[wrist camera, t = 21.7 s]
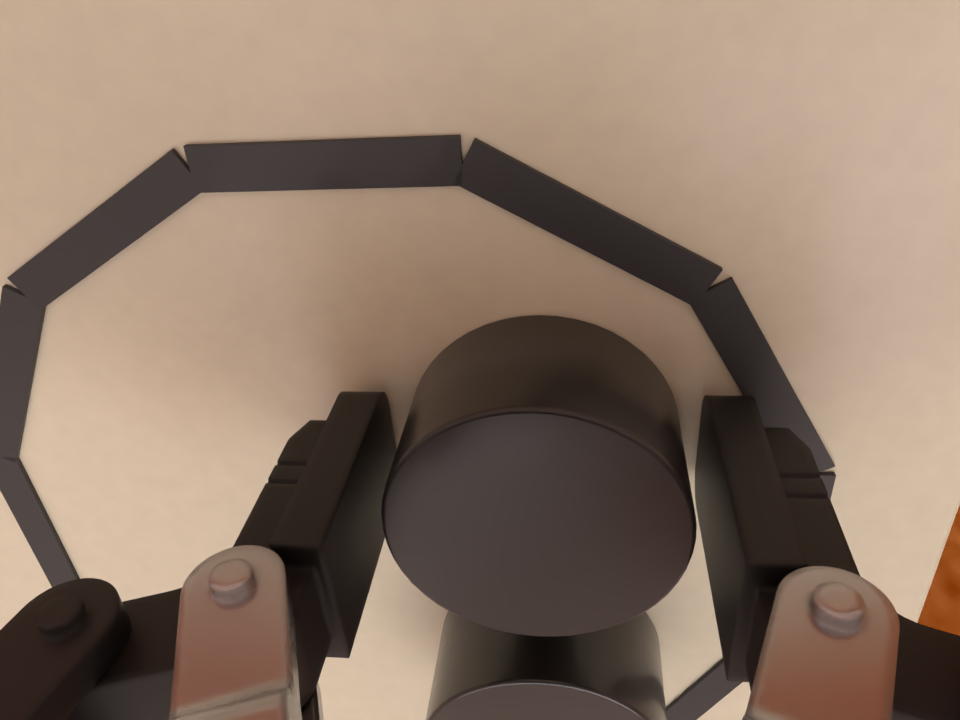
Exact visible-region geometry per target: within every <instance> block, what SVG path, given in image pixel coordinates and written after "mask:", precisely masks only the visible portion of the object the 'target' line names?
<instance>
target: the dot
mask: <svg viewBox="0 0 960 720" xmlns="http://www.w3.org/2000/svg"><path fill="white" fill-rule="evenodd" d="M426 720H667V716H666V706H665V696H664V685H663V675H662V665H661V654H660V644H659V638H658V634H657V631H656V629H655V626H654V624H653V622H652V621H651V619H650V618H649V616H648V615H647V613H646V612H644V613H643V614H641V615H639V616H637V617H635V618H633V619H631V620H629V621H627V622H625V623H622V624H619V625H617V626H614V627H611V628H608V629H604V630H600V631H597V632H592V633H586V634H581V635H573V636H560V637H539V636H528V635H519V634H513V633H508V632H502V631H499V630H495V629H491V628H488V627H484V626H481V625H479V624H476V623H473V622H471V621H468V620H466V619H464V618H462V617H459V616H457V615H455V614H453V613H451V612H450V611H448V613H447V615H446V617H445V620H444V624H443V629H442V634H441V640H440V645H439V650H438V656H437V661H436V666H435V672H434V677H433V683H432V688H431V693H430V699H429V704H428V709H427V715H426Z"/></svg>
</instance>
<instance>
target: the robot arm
mask: <svg viewBox="0 0 960 720" xmlns="http://www.w3.org/2000/svg"><path fill="white" fill-rule="evenodd" d="M396 451H397V449H396V443H395V437H394V430H393V424H392V418H391V412H390V406H389V400H388V397H387V395H386V393H385V392H357V391H342V392H340V393H339V395H338V396H337V399H336V401H335V403H334V405H333V407H332V409H331V411H330V414H329V416H328V418H327V420H310V421H309V422H307V423H306V424H305V425H304V426H303V427H302V428H301V429H299V430H298V431H297V432H296V433H295V434H294V435H293V436H291V437H290V438H289V439H288V441H287V443H286V445H285V447H284V449H283V451H282V453H281V455H280V456H279V458H278V460H277V465H275V466H274V468H273V470H272V472H271V474H270V476H269V478H268V483H266V484H265V486H264V488H263V489H262V491H261V493H260V495H259V497H258V499H257V501H256V503H255V505H254V507H253V509H252V511H251V513H250V515H249V517H248V519H247V520H246V522H245V524H244V526H243V528H242V530H241V532H240V534H239V536H238V538H237V540H236V542H235V544H234V546H233V547H232V548H228V549H225V550H222V551H220V552H218V553H216V554H214V555H212V556H210V557H208V558H207V559H205V560H204V561H203V562H201V563H200V564H199V565H198V566H197V567H196V568H194V570H193V571H192V572H191V573H190V574H189V576H188V577H187V579H186V580H185V582H184V584H183V587H182V588H179V589H176V590H172V591H168V592H164V593H159V594H155V595H150V596H146V597H141V598H137V599H132V600H128V601H123V602H122V601H121V598H120V596H119V594H118V592H117V590H116V589H115V587H114V586H113V585H112V584H110V583H109V582H107V581H104V580H102V579H96V578H82V579H75V580H71V581H67V582H64V583H62V584H59V585H56V586H54V587H52V588H50V589H48V590H46V591H45V592H43V593H41V594H39V595H38V596H37V597H35V598H34V599H33V600H31V601H30V602H29V603H28V604H27V605H25V606H24V607H23V608H22V609H21V610H20V611H19V612H18V613H17V614H16V615H15V616H14V617H13V618H12V619H11V620H10V621H9V622H8V623H7V624H6V625H5V626H4V627H3V628H2V629H1V630H0V720H324V718H323V708H322V698H321V691H320V687H319V683H318V680H319V677H320V674H321V671H322V668H323V665H324V662H325V659H326V657H335V658H349V657H350V654H351V651H352V647H353V644H354V640H355V637H356V634H357V630H358V627H359V624H360V620H361V617H362V613H363V610H364V607H365V603H366V600H367V597H368V593H369V590H370V586H371V583H372V580H373V576H374V573H375V569H376V566H377V563H378V559H379V556H380V553H381V549H382V546H383V542H384V539H385V535H384V531H383V527H382V517H381V507H382V497H383V493H384V489H385V485H386V482H387V479H388V476H389V473H390V470H391V466H392V463H393V460H394V457H395V454H396ZM695 501H696V509H697V514H698V520H699V526H700V531H701V537H702V543H703V548H704V554H705V560H706V565H707V571H708V577H709V582H710V588H711V593H712V599H713V605H714V610H715V616H716V622H717V627H718V633H719V639H720V644H721V650H722V656H723V661H724V667H725V672H726V678H727V681H737V682H749V685H750V690H751V694H750V698H749V701H748V705H747V709H746V713H745V715H744V716H743V718H742V720H960V636H958V635H954V634H951V633H947V632H944V631H940V630H937V629H934V628H930V627H927V626H924V625H921V624H918V623H916V622H914V621H912V620H909V619H907V618H905V617H903V616H902V615H900V614H898V613H897V612H896V610H895V608H894V606H893V604H892V603H891V601H890V600H889V599H888V597H887V596H886V595H885V594H884V593H883V592H882V591H881V590H880V589H879V588H877V587H876V586H875V585H874V584H872V583H871V582H869V581H867V580H866V579H864V578H863V577H861V576H860V574H859V572H858V569H857V566H856V564H855V561H854V559H853V556H852V554H851V551H850V549H849V546H848V543H847V541H846V538H845V536H844V533H843V531H842V528H841V526H840V523H839V520H838V518H837V515H836V513H835V510H834V508H833V505H832V503H831V500H830V499H828V492H827V490H826V487H825V485H824V482H823V480H822V478H820V472H819V469H818V467H817V464H816V462H815V459H814V457H813V454H812V452H811V449H810V448H809V447H808V446H807V445H806V444H805V443H804V442H803V441H802V440H801V439H800V438H798V437H797V436H796V435H795V434H794V433H793V432H792V431H791V430H790V429H789V428H774V427H764V426H763V423H762V420H761V417H760V413H759V410H758V407H757V404H756V401H755V399H754V397H753V396H721V395H705V396H704V398H703V402H702V409H701V418H700V428H699V437H698V447H697V456H696V465H695Z"/></svg>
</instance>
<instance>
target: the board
mask: <svg viewBox="0 0 960 720" xmlns="http://www.w3.org/2000/svg"><path fill="white" fill-rule="evenodd" d="M533 315H546V316H560V317H566V318H572V319H578V320H581V321H584V322H588V323H591V324H595V325H597V326H600V327H602V328H604V329H607V330H609V331H611V332H613V333H615V334H617V335H618V336H620V337H622V338H624V339H625V340H627V341H629V342H630V343H631V344H632V345H634V346H635V347H636V348H638V349H639V350H640V351H642V352H643V353H644V354H645V355H646V356H647V357H648V358H649V359H650V360H651V361H652V362H653V363H654V364H655V365H656V367H657V368H658V369H659V371H660V372H661V373H662V375H663V376H664V378H665V379H666V381H667V383H668V385H669V387H670V389H671V391H672V393H673V396H674V399H675V402H676V405H677V411H678V416H679V422H680V428H681V434H682V440H683V445H684V451H685V457H686V463H687V469H688V475H689V480H690V486H691V492H692V498H693V504H694V510H695V516H696V522H697V529H696V542H695V547H694V551H693V554H692V557H691V559H690V562H689V564H688V567H687V569H686V571H685V572H684V574H683V576H682V577H681V579H680V580H679V582H678V583H677V584H676V586H675V587H674V588H673V589H672V590H671V591H670V593H669V594H668V595H667V596H665V597H664V598H663V599H662V600H661V601H660V602H659V603H657V604H656V605H655V606H653V607H652V608H650V609H649V610H647V611H646V613H647V615H648V616H649V618H650V619H651V621H652V622H653V624H654V626H655V629H656V631H657V634H658V638H659V644H660V654H661V665H662V675H663V685H664V696H665V706H666V716H667V720H742V718H743V716H744V715H745V713H746V709H747V705H748V701H749V698H750V694H751V690H750V685H749V682H737V681H727V678H726V672H725V667H724V661H723V656H722V650H721V644H720V639H719V633H718V627H717V622H716V616H715V610H714V605H713V599H712V593H711V588H710V582H709V577H708V571H707V565H706V560H705V554H704V548H703V543H702V537H701V531H700V526H699V520H698V514H697V509H696V501H695V465H696V456H697V447H698V437H699V428H700V418H701V409H702V402H703V398H704V396H705V395H721V396H753V397H754V399H755V401H756V404H757V407H758V410H759V413H760V417H761V420H762V423H763V426H764V427H774V428H789V429H790V430H791V431H792V432H793V433H794V434H795V435H796V436H797V437H798V438H800V439H801V440H802V441H803V442H804V443H805V444H806V445H807V446H808V447H809V448H810V449H811V452H812V454H813V457H814V459H815V462H816V464H817V467H818V469H819V472H820V478H822V480H823V482H824V485H825V487H826V490H827V492H828V499H830V500H831V503H832V505H833V508H834V510H835V513H836V515H837V518H838V520H839V523H840V526H841V528H842V531H843V533H844V536H845V538H846V541H847V543H848V546H849V549H850V551H851V554H852V556H853V559H854V561H855V564H856V566H857V569H858V572H859V574H860V576H861V577H863V578H864V579H866V580H867V581H869V582H871V583H872V584H874V585H875V586H876V587H877V588H879V589H880V590H881V591H882V592H883V593H884V594H885V595H886V596H887V597H888V599H889V600H890V601H891V603H892V604H893V606H894V608H895V610H896V612H897V613H898V614H900V615H902V616H903V617H905V618H907V619H909V620H912V621H914V622H916V623H917V622H918V619H919V616H920V614H921V611H922V608H923V605H924V602H925V600H926V597H927V594H928V591H929V588H930V586H931V583H932V580H933V577H934V575H935V572H936V569H937V566H938V563H939V561H940V558H941V555H942V552H943V549H944V547H945V544H946V541H947V538H948V535H949V533H950V530H951V527H952V524H953V521H954V519H955V516H956V513H957V510H958V507H959V505H960V0H0V630H1V629H2V628H3V627H4V626H5V625H6V624H7V623H8V622H9V621H10V620H11V619H12V618H13V617H14V616H15V615H16V614H17V613H18V612H19V611H20V610H21V609H22V608H23V607H24V606H25V605H27V604H28V603H29V602H30V601H31V600H33V599H34V598H35V597H37V596H38V595H39V594H41V593H43V592H45V591H46V590H48V589H50V588H52V587H54V586H56V585H59V584H62V583H64V582H67V581H71V580H75V579H82V578H96V579H102V580H104V581H107V582H109V583H110V584H112V585H113V586H114V587H115V589H116V590H117V592H118V594H119V596H120V598H121V601H122V602H123V601H128V600H132V599H137V598H141V597H146V596H150V595H155V594H159V593H164V592H168V591H172V590H176V589H179V588H182V587H183V584H184V582H185V580H186V579H187V577H188V576H189V574H190V573H191V572H192V571H193V570H194V568H196V567H197V566H198V565H199V564H200V563H201V562H203V561H204V560H205V559H207V558H208V557H210V556H212V555H214V554H216V553H218V552H220V551H222V550H225V549H228V548H232V547H233V546H234V544H235V542H236V540H237V538H238V536H239V534H240V532H241V530H242V528H243V526H244V524H245V522H246V520H247V519H248V517H249V515H250V513H251V511H252V509H253V507H254V505H255V503H256V501H257V499H258V497H259V495H260V493H261V491H262V489H263V488H264V486H265V484H266V483H268V478H269V476H270V474H271V472H272V470H273V468H274V466H275V465H277V460H278V458H279V456H280V455H281V453H282V451H283V449H284V447H285V445H286V443H287V441H288V439H289V438H290V437H291V436H293V435H294V434H295V433H296V432H297V431H298V430H299V429H301V428H302V427H303V426H304V425H305V424H306V423H307V422H309V421H310V420H327V418H328V416H329V414H330V411H331V409H332V407H333V405H334V403H335V401H336V399H337V396H338V395H339V393H340V392H342V391H357V392H385V393H386V395H387V397H388V400H389V406H390V412H391V418H392V424H393V430H394V437H395V443H396V449H397V448H398V445H399V442H400V438H401V435H402V432H403V429H404V426H405V423H406V420H407V417H408V414H409V411H410V407H411V404H412V401H413V398H414V395H415V392H416V389H417V387H418V384H419V382H420V380H421V378H422V376H423V374H424V373H425V371H426V370H427V368H428V367H429V365H430V364H431V362H432V361H433V360H434V359H435V358H436V357H437V356H438V355H439V354H440V352H441V351H443V350H444V349H445V348H446V347H447V346H449V345H450V344H451V343H452V342H454V341H455V340H457V339H458V338H460V337H462V336H463V335H465V334H467V333H468V332H470V331H472V330H475V329H477V328H479V327H481V326H484V325H486V324H489V323H493V322H496V321H499V320H503V319H508V318H514V317H519V316H533ZM447 613H448V610H446V609H444V608H443V607H441V606H439V605H438V604H436V603H435V602H434V601H432V600H431V599H430V598H428V597H427V596H426V595H424V594H423V593H422V592H421V591H420V590H419V589H418V588H417V587H416V586H414V585H413V584H412V583H411V581H410V580H409V579H408V578H407V577H406V576H405V574H404V573H403V572H402V571H401V569H400V568H399V566H398V564H397V563H396V561H395V560H394V558H393V556H392V554H391V552H390V550H389V547H388V545H387V542H386V538H385V539H384V542H383V546H382V549H381V553H380V556H379V559H378V563H377V566H376V569H375V573H374V576H373V580H372V583H371V586H370V590H369V593H368V597H367V600H366V603H365V607H364V610H363V613H362V617H361V620H360V624H359V627H358V630H357V634H356V637H355V640H354V644H353V647H352V651H351V654H350V657H349V658H335V657H326V659H325V662H324V665H323V668H322V671H321V674H320V677H319V680H318V683H319V687H320V691H321V698H322V708H323V718H324V720H426V715H427V709H428V704H429V699H430V693H431V688H432V683H433V677H434V672H435V666H436V661H437V656H438V650H439V645H440V640H441V634H442V629H443V624H444V620H445V617H446V615H447Z"/></svg>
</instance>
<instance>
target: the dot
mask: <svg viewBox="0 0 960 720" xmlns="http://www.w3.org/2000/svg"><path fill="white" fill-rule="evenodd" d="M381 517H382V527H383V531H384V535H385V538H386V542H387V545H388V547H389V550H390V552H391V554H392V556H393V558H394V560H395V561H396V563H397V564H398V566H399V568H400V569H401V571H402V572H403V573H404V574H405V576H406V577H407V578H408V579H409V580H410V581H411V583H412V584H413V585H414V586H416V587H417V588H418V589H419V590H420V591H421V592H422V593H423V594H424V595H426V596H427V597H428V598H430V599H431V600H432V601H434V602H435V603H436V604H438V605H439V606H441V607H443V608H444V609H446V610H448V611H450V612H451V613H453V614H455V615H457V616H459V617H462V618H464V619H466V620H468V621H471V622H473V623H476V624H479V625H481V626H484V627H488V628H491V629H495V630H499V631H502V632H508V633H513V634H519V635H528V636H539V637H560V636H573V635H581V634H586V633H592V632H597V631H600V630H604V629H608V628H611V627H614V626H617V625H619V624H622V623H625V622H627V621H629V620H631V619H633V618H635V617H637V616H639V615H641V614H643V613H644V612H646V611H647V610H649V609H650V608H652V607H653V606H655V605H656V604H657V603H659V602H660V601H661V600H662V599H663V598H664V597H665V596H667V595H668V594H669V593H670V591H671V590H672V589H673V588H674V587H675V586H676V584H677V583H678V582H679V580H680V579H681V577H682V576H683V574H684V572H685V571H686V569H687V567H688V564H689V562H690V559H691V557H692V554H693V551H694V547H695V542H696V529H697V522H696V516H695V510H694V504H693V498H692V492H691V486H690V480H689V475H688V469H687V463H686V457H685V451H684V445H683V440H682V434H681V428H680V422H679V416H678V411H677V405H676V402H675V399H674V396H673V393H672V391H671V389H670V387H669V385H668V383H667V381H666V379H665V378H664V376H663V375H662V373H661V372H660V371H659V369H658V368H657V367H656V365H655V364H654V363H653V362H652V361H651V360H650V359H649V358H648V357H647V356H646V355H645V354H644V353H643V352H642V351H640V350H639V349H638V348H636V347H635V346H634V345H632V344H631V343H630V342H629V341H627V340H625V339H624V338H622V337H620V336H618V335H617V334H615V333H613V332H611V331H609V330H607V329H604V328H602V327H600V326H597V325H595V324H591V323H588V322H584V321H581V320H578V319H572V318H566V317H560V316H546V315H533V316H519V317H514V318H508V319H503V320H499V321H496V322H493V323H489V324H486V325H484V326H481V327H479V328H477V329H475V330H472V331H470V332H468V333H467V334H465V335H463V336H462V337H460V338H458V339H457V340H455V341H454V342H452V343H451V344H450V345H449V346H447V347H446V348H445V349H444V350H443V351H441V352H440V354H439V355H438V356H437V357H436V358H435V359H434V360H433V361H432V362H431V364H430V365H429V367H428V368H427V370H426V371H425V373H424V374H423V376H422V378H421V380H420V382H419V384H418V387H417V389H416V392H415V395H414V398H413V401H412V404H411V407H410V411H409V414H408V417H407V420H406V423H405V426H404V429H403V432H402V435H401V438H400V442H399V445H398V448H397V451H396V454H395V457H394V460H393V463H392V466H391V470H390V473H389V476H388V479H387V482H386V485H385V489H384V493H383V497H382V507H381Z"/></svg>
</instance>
